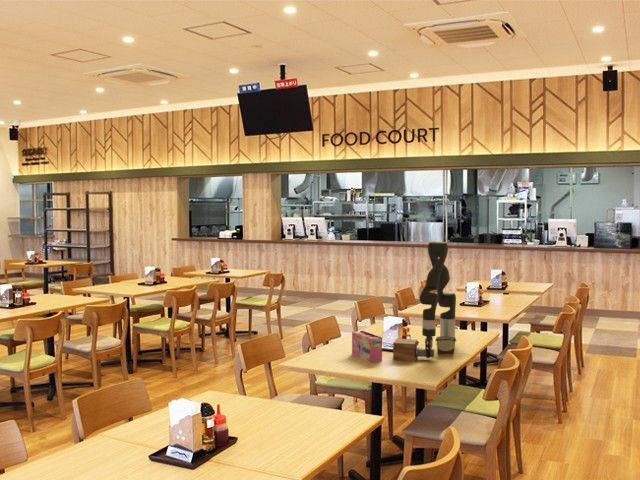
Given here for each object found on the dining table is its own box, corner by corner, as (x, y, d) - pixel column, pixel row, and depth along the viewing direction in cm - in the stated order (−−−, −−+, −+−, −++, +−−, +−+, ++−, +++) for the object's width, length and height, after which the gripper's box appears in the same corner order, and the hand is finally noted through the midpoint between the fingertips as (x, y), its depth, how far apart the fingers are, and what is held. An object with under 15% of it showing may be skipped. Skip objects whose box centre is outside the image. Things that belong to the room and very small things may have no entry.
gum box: (350, 353, 394) (350, 331, 393) (361, 352, 397) (361, 330, 396) (370, 362, 372) (370, 338, 371) (382, 361, 376) (382, 337, 375)
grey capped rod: (401, 355, 385) (401, 345, 384) (434, 357, 380) (434, 346, 379) (400, 357, 379) (400, 347, 379) (433, 359, 374) (433, 349, 373)
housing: (396, 355, 389) (396, 338, 388) (417, 356, 385) (417, 339, 385) (393, 360, 377) (393, 342, 377) (414, 361, 374) (414, 344, 373)
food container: (455, 352, 395) (455, 336, 394) (456, 355, 389) (456, 338, 388) (434, 352, 396) (434, 335, 396) (435, 354, 390) (435, 338, 390)
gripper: (424, 324, 384) (423, 353, 385) (420, 329, 371) (420, 359, 372) (437, 325, 382) (436, 354, 383) (434, 330, 368) (433, 360, 369)
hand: (428, 356), depth 377 cm, fingers open, 5 cm apart
